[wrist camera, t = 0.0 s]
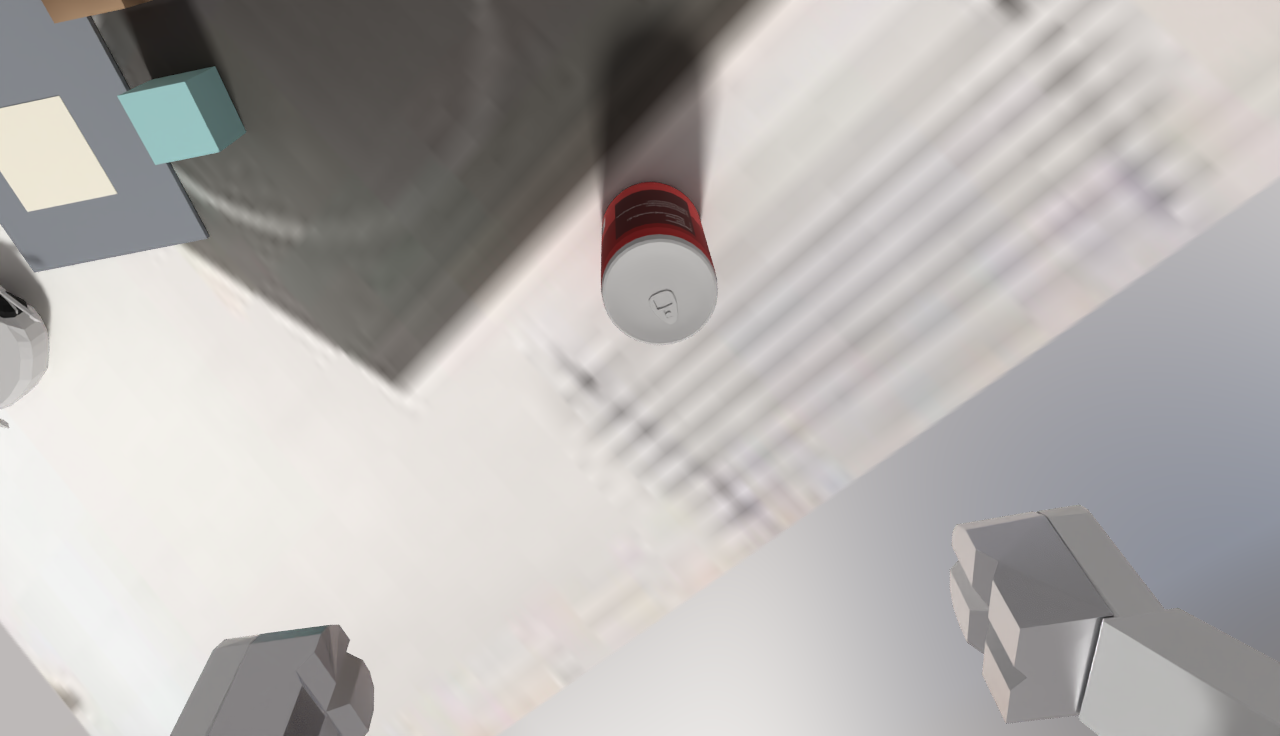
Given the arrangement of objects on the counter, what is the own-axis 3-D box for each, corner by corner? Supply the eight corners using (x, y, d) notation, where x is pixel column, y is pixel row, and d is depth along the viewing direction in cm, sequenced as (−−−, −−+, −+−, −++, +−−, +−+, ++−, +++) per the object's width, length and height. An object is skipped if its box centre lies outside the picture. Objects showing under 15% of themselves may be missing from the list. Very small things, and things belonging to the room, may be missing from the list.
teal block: (152, 79, 51) (117, 95, 47) (215, 65, 51) (184, 81, 47) (186, 144, 54) (155, 165, 50) (246, 132, 53) (219, 151, 50)
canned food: (644, 291, 61) (651, 365, 52) (579, 220, 58) (575, 286, 49) (721, 235, 59) (743, 302, 50) (658, 157, 55) (669, 214, 46)
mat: (-161, -14, 47) (-167, -13, 47) (48, -61, 46) (43, -61, 46) (37, 269, 58) (34, 272, 58) (209, 236, 57) (206, 238, 57)
